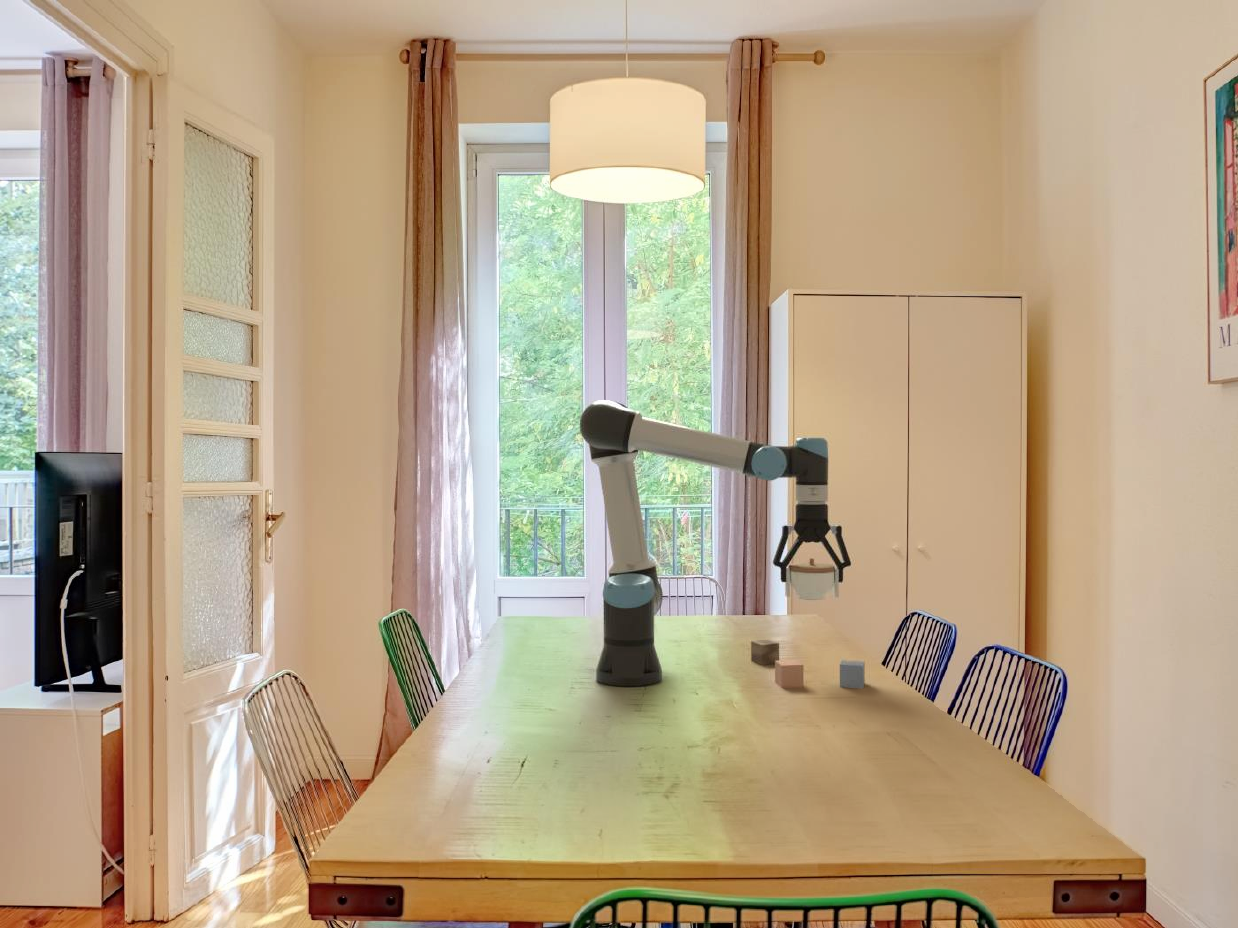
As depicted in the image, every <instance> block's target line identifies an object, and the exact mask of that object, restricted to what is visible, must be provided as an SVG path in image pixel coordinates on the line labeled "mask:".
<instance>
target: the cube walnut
mask: <svg viewBox="0 0 1238 928" xmlns="http://www.w3.org/2000/svg"><path fill="white" fill-rule="evenodd" d="M750 646H751V647H750V651H751V653H750V654H751V655H750V657H751V659H750V660H751V662H753V663H756V664H758V665H759V666H760V665H761V666H763V665H775V661H780V642H777V641H774V640H771V639H763V640H751V641H750Z"/></svg>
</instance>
